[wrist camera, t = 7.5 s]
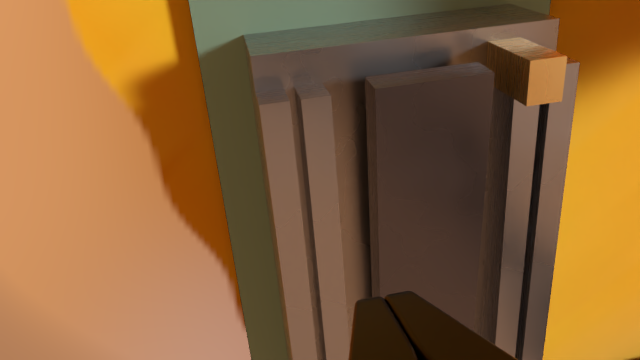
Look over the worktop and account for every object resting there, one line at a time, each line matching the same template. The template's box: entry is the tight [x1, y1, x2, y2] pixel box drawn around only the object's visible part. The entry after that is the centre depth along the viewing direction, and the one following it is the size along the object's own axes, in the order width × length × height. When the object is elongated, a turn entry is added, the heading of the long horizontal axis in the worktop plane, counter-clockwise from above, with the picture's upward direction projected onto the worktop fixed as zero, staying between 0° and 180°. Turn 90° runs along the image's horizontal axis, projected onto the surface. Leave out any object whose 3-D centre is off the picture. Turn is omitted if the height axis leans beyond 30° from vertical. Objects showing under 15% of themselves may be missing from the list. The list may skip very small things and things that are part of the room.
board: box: [188, 0, 551, 360], centre depth 22 cm, size 19×12×1 cm, turn 5°
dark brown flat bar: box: [365, 62, 495, 330], centre depth 18 cm, size 14×4×1 cm, turn 5°
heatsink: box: [243, 4, 580, 360], centre depth 20 cm, size 16×9×5 cm, turn 5°
